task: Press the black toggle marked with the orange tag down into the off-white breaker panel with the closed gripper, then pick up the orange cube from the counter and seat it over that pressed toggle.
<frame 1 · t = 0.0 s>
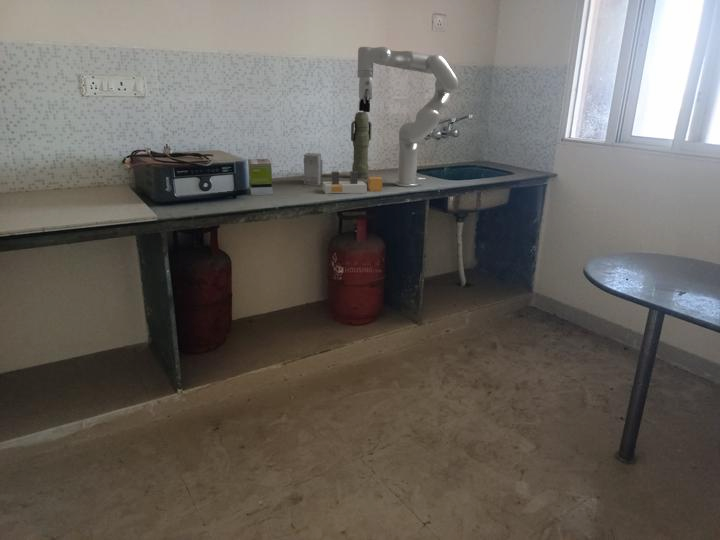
hand: (364, 111, 260), 37 cm above the countertop, tool pointing down, fingers open, 9 cm apart
plain toggle: (353, 179, 255), point 6 cm above the countertop, slide at 0.0 cm
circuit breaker: (313, 182, 277), on the countertop
tea box: (260, 192, 250), on the countertop
orange cube: (374, 189, 262), on the countertop
thermos: (360, 177, 295), on the countertop
tagged toggle: (335, 179, 253), point 6 cm above the countertop, slide at 0.0 cm
breaker panel: (344, 191, 256), on the countertop
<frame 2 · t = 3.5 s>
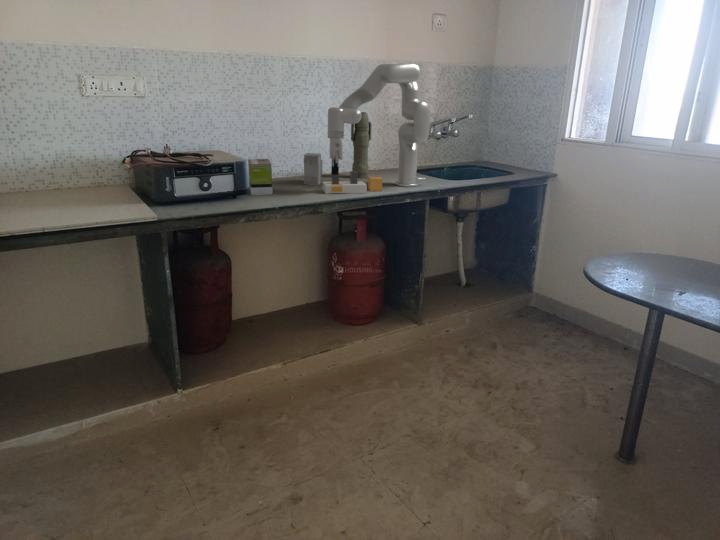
hand: (334, 174, 252), 8 cm above the countertop, tool pointing down, fingers closed
tagged toggle: (335, 181, 253), point 5 cm above the countertop, slide at 1.1 cm, touching gripper
everything else where it was.
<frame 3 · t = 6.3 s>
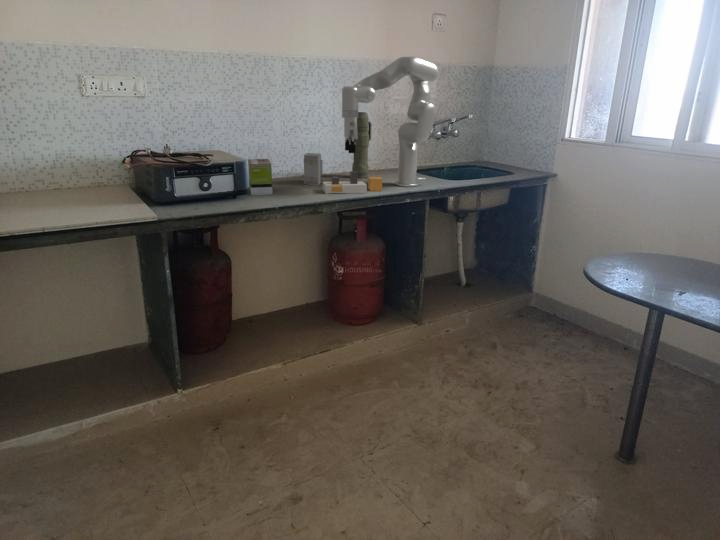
hand: (350, 151, 251), 19 cm above the countertop, tool pointing down, fingers open, 9 cm apart
tagged toggle: (335, 184, 254), point 3 cm above the countertop, slide at 2.5 cm
everything else where it was.
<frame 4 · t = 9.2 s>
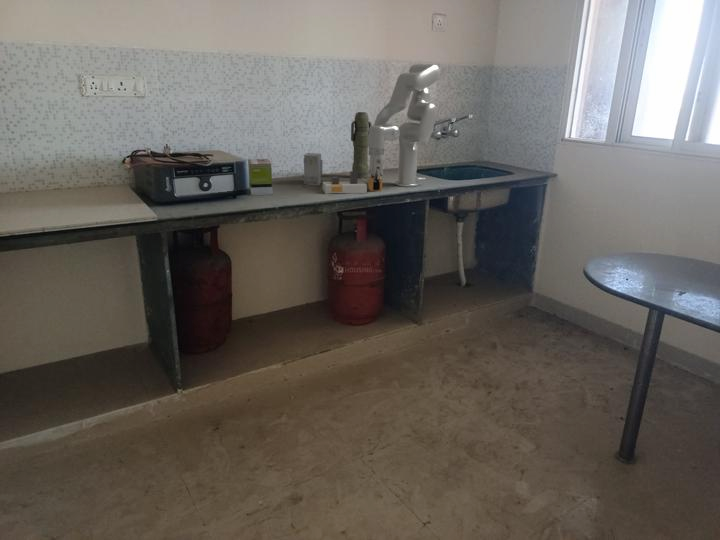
hand: (374, 188, 262), 1 cm above the countertop, tool pointing down, fingers closed on orange cube, 5 cm apart
orange cube: (374, 189, 262), on the countertop, touching gripper
everything else where it was.
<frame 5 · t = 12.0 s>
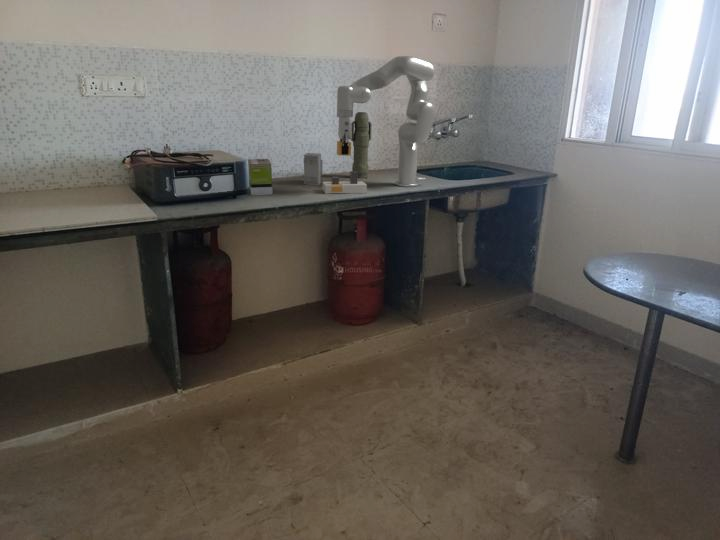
hand: (343, 153, 250), 18 cm above the countertop, tool pointing down, fingers closed on orange cube, 5 cm apart
orange cube: (343, 154, 250), point 18 cm above the countertop, touching gripper
everything else where it was.
when the fingers open (6 cm above the countertop, at t = 15.0 s): orange cube drops 1 cm, resting on breaker panel.
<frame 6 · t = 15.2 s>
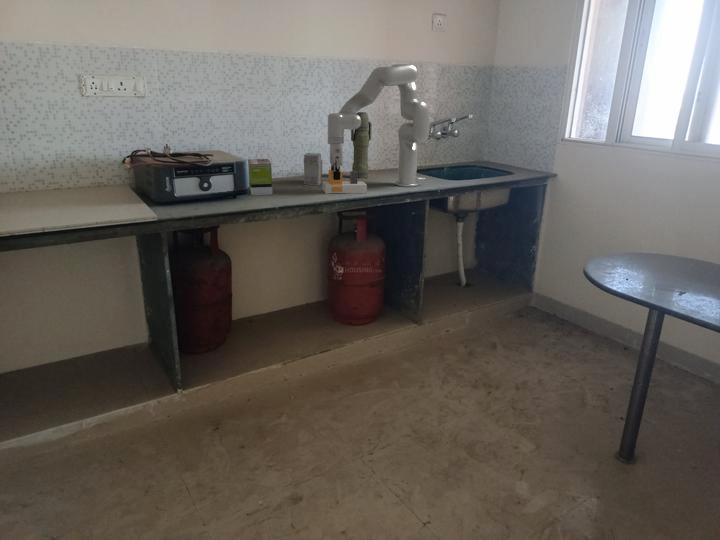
hand: (335, 178, 253), 7 cm above the countertop, tool pointing down, fingers open, 7 cm apart
orange cube: (335, 183, 254), point 4 cm above the countertop, touching breaker panel
everything else where it was.
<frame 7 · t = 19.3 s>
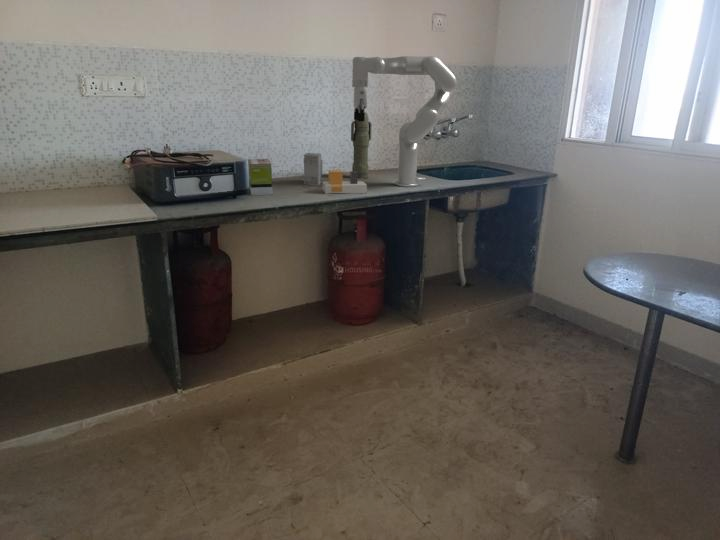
hand: (359, 120, 263), 32 cm above the countertop, tool pointing down, fingers open, 9 cm apart
nothing on the countertop moved.
at the end: tagged toggle slide at 2.5 cm; orange cube 0.0 cm from the target spot on the breaker panel, point 4.0 cm above the breaker panel's base; orange cube tilted 0° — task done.
